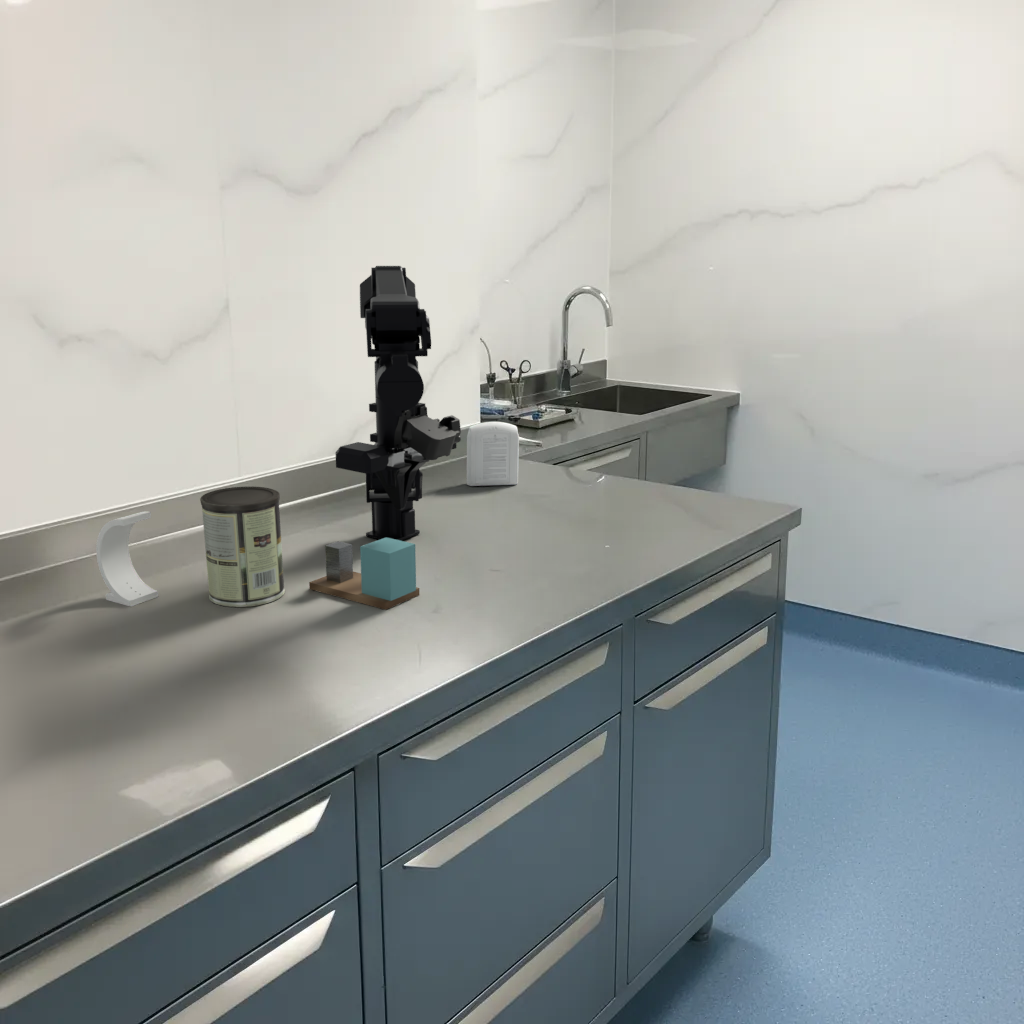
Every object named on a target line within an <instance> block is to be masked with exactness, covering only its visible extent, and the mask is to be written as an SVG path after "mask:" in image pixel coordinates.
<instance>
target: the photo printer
mask: <svg viewBox="0 0 1024 1024" xmlns="http://www.w3.org/2000/svg"><path fill="white" fill-rule="evenodd" d="M519 436H520V435H519V431H518V426H517V425H515V424H512V423H509V422H503V421H485V422H479V423H476V424H473V425H471V426H469V427H468V432H467V435H466V485H467V486H469V487H477V486H479V487H483V486H484V487H485V486H514V485H515V486H516V485H518V484H519V458H520V457H519V456H520V455H519V452H520V451H519V449H520V437H519Z"/></svg>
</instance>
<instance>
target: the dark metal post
mask: <svg viewBox="0 0 1024 1024" xmlns="http://www.w3.org/2000/svg"><path fill="white" fill-rule="evenodd" d="M324 550H325V551H324V552H325V570H326V571H325V573H326V574H325V576H327V580H330V581H334V582H337V583H342V582H345V581H347V580H350V579H353V572H354V566H353V543H348V542H344V541H340V540H338V541H335V542H332V543H329V544H326V545H324Z"/></svg>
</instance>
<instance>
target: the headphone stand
mask: <svg viewBox="0 0 1024 1024" xmlns="http://www.w3.org/2000/svg"><path fill="white" fill-rule="evenodd" d="M147 519H152V514H151V511H144V510H143V511H140V512H137V513H133V514H129V515H126V516H122V517H118V518H114V519H112V520H109V521H107V522H105V524H104V525H103V526H102V527H101V529H100V530H99V533H98V535H97V538H96V539H97V540H96V544H95V552H96V555H95V556H96V561H97V565H98V569H99V572H100V575H101V579H102V580H103V581H104V583H105V586H106V587H107V588H108V591H110V592H107V593H105V600H106V601H110V602H112V603H116V604H121V605H124V606H126V607H130V608H131V607H133V606H136V605H140V604H141V603H144V602H148V601H151V600H152V599H156V598H158V597H159V594H158V593H159V591H158V590H156V589H154V588H152V587H151V586H149V585H148V584H147V583H146V582H144V581H143V580H142V579H141V577H140V576H139V574H138V573H137V571H136V570H135V566H134V565H133V562H132V559H131V555H130V548H129V541H130V540H129V539H130V534H131V530H132V528H133V526H134V525H135V523H138V522H142V521H145V520H147Z"/></svg>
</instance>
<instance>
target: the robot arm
mask: <svg viewBox="0 0 1024 1024" xmlns="http://www.w3.org/2000/svg"><path fill="white" fill-rule="evenodd" d="M416 293H417V292H416V284H415V282H413V281H412V280H411V279H410V278H409V277H408V276H407V270H406V267H402V266H401V265H376V266H375V267H371V273H370V275H368V277H367V278H365V279H364V280H363V281H362V282H361V283H360V284H359V312H360V313H359V314H360V319H364V328H365V330H366V331H365V332H366V334H365V335H366V350H367V351H366V353H367V358H375V361H374V383H375V384H374V386H375V387H374V388H375V393H374V395H375V402H371V403H368V410H369V412H371V413H375V426H376V428H375V429H376V432H373V433H370V434H369V441H370V442H371V444H370V443H365V442H359V441H356V442H352V443H349V444H345V445H342V446H339V447H338V448H337V450H336V451H335V453H334V454H335V468H337V469H342V470H346V471H351V472H356V473H361V474H365V476H364V477H365V498H366V503H367V504H370V503H371V524H372V525H371V528H372V529H371V530H370V531H367V532H366V533H365V536H366V537H369V538H373V539H378V540H380V539H383V538H386V537H387V538H391V539H396V540H400V541H403V540H406V539H409V538H412V537H414V536H417V535H420V534H421V533H420V532H421V531H420V530H418V529H416V513H415V512H416V511H415V508H414V501H415V502H419V500H421V499H422V498H423V472H422V471H421V470H420V468H421V467H422V466H424V465H425V464H426V463H428V462H430V461H436V460H438V459H439V458H442V457H448V456H451V452H452V450H455V449H457V443H460V442H461V441H462V439H461V432H462V430H461V419H459V418H458V417H456V416H454V415H452V414H451V415H447V416H444V417H442V418H441V420H440V419H439V418H435V419H434V418H432V417H429V416H428V407H427V406H426V403H425V402H424V403H423V402H420V401H421V400H422V397H423V395H424V391H425V390H424V389H425V386H424V381H423V378H422V375H421V374H420V372H419V362H418V360H417V357H428V352H429V351H428V350H432V337H431V327H430V325H431V323H430V317H429V316H428V315H427V310H425V308H421V307H420V302H419V300H418V298H417V297H416V296H417V294H416ZM420 344H421V345H420ZM372 346H373V347H374V348H373V347H372ZM420 346H421V348H420ZM372 443H374V444H372Z"/></svg>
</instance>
